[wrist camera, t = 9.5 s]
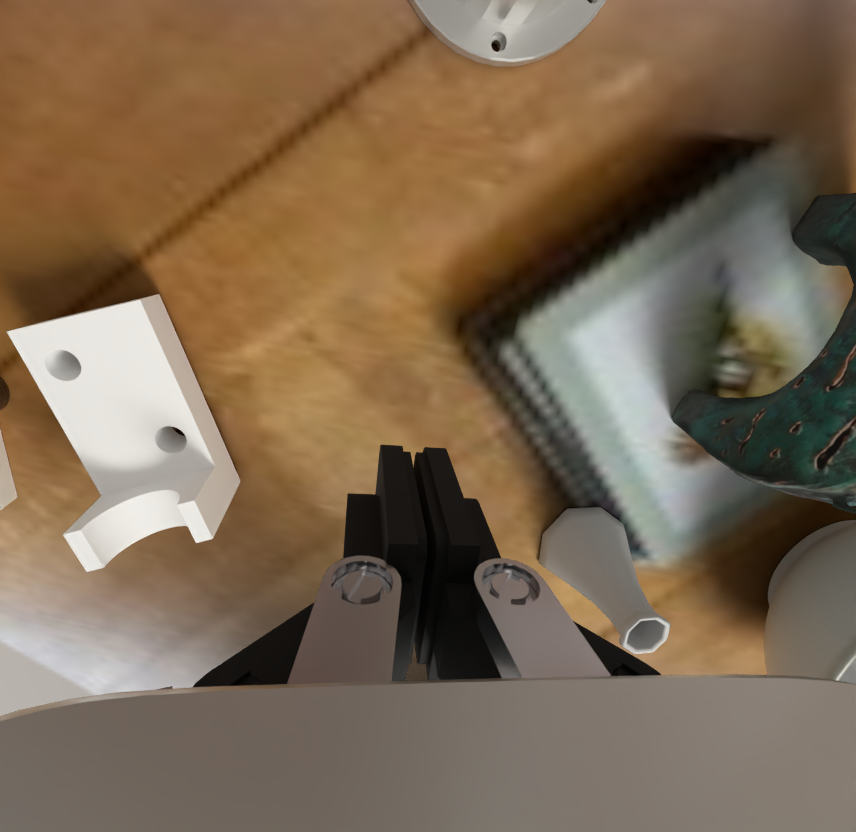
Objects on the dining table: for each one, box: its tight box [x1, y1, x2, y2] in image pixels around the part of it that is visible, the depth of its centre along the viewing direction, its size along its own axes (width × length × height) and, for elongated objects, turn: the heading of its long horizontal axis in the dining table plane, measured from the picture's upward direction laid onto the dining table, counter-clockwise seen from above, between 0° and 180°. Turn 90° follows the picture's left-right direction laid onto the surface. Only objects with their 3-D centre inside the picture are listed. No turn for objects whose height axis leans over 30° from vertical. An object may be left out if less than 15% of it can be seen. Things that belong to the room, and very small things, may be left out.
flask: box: [539, 507, 671, 654], centre depth 34 cm, size 7×7×10 cm
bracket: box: [7, 294, 241, 572], centre depth 27 cm, size 13×7×8 cm, turn 13°
